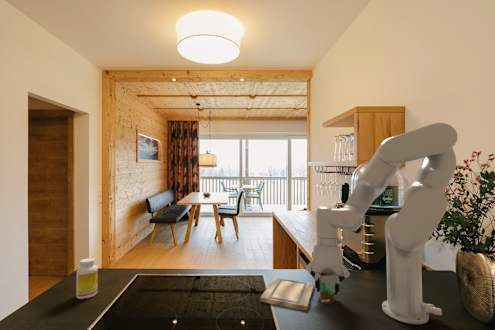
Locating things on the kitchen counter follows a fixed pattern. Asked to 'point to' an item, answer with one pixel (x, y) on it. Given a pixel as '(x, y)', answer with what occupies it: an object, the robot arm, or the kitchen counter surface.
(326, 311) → the kitchen counter surface
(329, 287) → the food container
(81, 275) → the supplement bottle
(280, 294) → the base board
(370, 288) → the kitchen counter surface
